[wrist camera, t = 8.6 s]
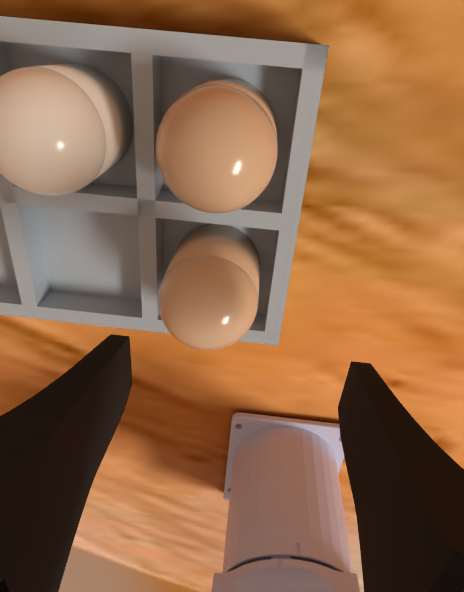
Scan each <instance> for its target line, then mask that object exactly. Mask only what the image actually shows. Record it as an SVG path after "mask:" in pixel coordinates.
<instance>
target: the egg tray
mask: <svg viewBox="0 0 464 592" xmlns="http://www.w3.org/2000/svg"><path fill="white" fill-rule="evenodd" d="M328 47H329V45H319V44H308V43H297V42H285V41H274V40H263V39H252V38H241V37H229V36H218V35H207V34H196V33H185V32H173V31H162V30H151V29H140V28H129V27H117V26H106V25H95V24H84V23H73V22H61V21H50V20H39V19H28V18H17V17H5V16H0V76H2V75H3V74H5V73H7V72H9V71H11V70H14V69H18V68H22V67H30V66H44V65H58V64H72V63H76V64H84V65H88V66H91V67H94V68H96V69H98V70H100V71H101V72H103V73H104V74H106V75H107V76H108V77H110V78H111V79H112V80H113V81H114V82H115V83H116V84H117V85H118V87H119V88H120V89H121V91H122V92H123V94H124V96H125V97H126V99H127V102H128V104H129V106H130V110H131V113H132V119H133V136H132V141H131V144H130V147H129V148H128V150H127V152H126V154H125V155H124V157H123V158H122V159H121V160H120V161H119V162H117V163H116V164H115V165H113V166H112V167H111V168H109V169H108V170H107V171H105V172H104V173H103V174H102V175H100V176H99V177H98V178H96V179H95V180H94V181H92V182H91V183H90V184H88V185H87V186H85V187H84V188H82V189H80V190H78V191H76V192H73V193H70V194H65V195H60V196H47V195H39V194H35V193H32V192H29V191H26V190H24V189H22V188H19V187H18V186H16V185H14V184H13V183H11V182H10V181H8V180H7V179H6V178H5V177H4V176H2V175H1V174H0V315H8V316H17V317H26V318H35V319H44V320H53V321H62V322H71V323H80V324H89V325H98V326H107V327H116V328H124V329H133V330H142V331H151V332H160V333H169V334H171V333H170V332H169V331H168V329H167V328H166V326H165V325H164V323H163V321H162V318H161V315H160V311H159V305H158V296H159V289H160V286H161V283H162V280H163V278H164V276H165V273H166V271H167V269H168V267H169V265H170V262H171V260H172V258H173V256H174V254H175V251H176V249H177V247H178V245H179V243H180V241H181V240H182V239H183V237H184V236H185V235H186V234H187V233H188V232H190V231H191V230H193V229H194V228H196V227H199V226H202V225H205V224H220V225H229V226H232V227H235V228H237V229H239V230H240V231H242V232H243V233H245V234H246V235H247V236H248V237H249V238H250V239H251V240H252V242H253V243H254V245H255V246H256V248H257V251H258V253H259V257H260V278H259V297H258V309H257V314H256V317H255V319H254V322H253V324H252V325H251V327H250V329H249V330H248V331H247V332H246V334H245V335H244V336H243V337H242V338H241V339H239V340H238V341H241V342H250V343H259V344H268V345H277V346H278V344H279V338H280V332H281V326H282V320H283V314H284V308H285V302H286V296H287V290H288V284H289V278H290V272H291V266H292V261H293V255H294V249H295V243H296V237H297V231H298V225H299V219H300V213H301V207H302V201H303V195H304V189H305V183H306V177H307V171H308V165H309V160H310V154H311V148H312V142H313V136H314V130H315V124H316V118H317V112H318V106H319V100H320V94H321V88H322V82H323V76H324V70H325V64H326V58H327V53H328ZM217 77H233V78H238V79H241V80H244V81H246V82H248V83H250V84H252V85H253V86H255V87H256V88H257V89H258V90H259V91H260V92H261V93H262V94H263V95H264V96H265V97H266V99H267V100H268V102H269V103H270V105H271V107H272V109H273V112H274V115H275V119H276V125H277V145H278V153H277V161H276V166H275V170H274V173H273V176H272V178H271V180H270V182H269V184H268V185H267V187H266V188H265V189H264V191H263V192H262V193H261V194H260V195H259V196H258V197H257V198H256V199H255V200H254V201H253V202H251V203H250V204H248V205H247V206H245V207H243V208H241V209H238V210H235V211H232V212H227V213H207V212H203V211H199V210H196V209H194V208H192V207H190V206H188V205H186V204H185V203H183V202H182V201H181V200H179V199H178V198H177V197H176V196H175V195H174V194H173V193H172V192H171V190H170V189H169V188H168V186H167V185H166V183H165V182H164V180H163V178H162V175H161V173H160V170H159V168H158V164H157V159H156V139H157V133H158V129H159V126H160V123H161V121H162V119H163V117H164V115H165V113H166V112H167V110H168V109H169V108H170V107H171V105H172V104H173V103H174V102H175V101H176V100H177V99H178V98H179V97H181V96H182V95H183V94H185V93H187V92H188V91H190V90H191V89H193V88H195V87H196V86H198V85H200V84H201V83H203V82H205V81H207V80H210V79H213V78H217Z"/></svg>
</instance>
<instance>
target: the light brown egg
mask: <svg viewBox="0 0 464 592" xmlns="http://www.w3.org/2000/svg"><path fill="white" fill-rule="evenodd" d="M132 136H133V119H132V113H131V110H130V106H129V104H128V102H127V99H126V97H125V96H124V94H123V92H122V91H121V89H120V88H119V87H118V85H117V84H116V83H115V82H114V81H113V80H112V79H111V78H110V77H108V76H107V75H106V74H104V73H103V72H101V71H100V70H98V69H96V68H94V67H91V66H88V65H84V64H76V63H72V64H58V65H44V66H30V67H22V68H18V69H14V70H11V71H9V72H7V73H5V74H3V75H2V76H0V174H1V175H2V176H4V177H5V178H6V179H7V180H8V181H10V182H11V183H13V184H14V185H16V186H18V187H19V188H22V189H24V190H26V191H29V192H32V193H35V194H39V195H47V196H60V195H65V194H70V193H73V192H76V191H78V190H80V189H82V188H84V187H85V186H87V185H88V184H90V183H91V182H92V181H94V180H95V179H96V178H98V177H99V176H100V175H102V174H103V173H104V172H105V171H107V170H108V169H109V168H111V167H112V166H113V165H115V164H116V163H117V162H119V161H120V160H121V159H122V158H123V157H124V155H125V154H126V152H127V150H128V148H129V147H130V144H131V141H132Z"/></svg>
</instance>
